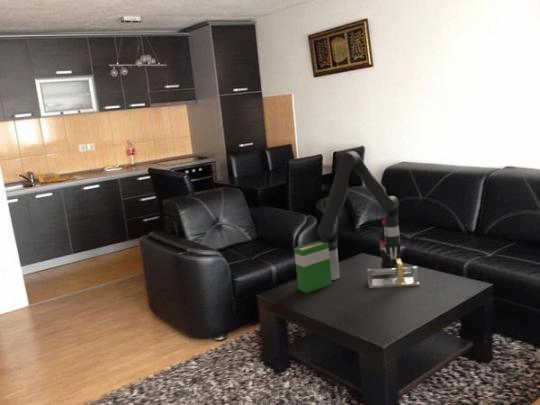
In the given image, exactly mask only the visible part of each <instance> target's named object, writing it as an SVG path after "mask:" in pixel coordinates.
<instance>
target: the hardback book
mask: <svg viewBox="0 0 540 405" xmlns="http://www.w3.org/2000/svg"><path fill="white" fill-rule="evenodd" d="M293 249H294V260H295V269H296V270H295V271H296V279H297V280H296V281H297V290H298V289H299V290H298V291H300V290H301V291H300V292H302V291H303V293H304V292H305V294H308V292H309V293H311V291H312V292H314V291H317V290H320V289H322V288H325V287H328V286H330V285H331V286H332V284H333V282H332V281H333V280H331V269H330V257H329V246H328V243H322V240H317V241H314V242H310V243H307V244H304V245H299V246H297V247H294V248H293Z"/></svg>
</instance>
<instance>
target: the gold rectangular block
mask: <svg viewBox="0 0 540 405" xmlns="http://www.w3.org/2000/svg"><path fill="white" fill-rule="evenodd" d="M396 262H397V264H396V268H398V274H396V278H398V281H399V283H404V278H405V277H404V273H403V267H404V264H403V262H402V259H401V258H397V259H396ZM403 277H404V278H403Z"/></svg>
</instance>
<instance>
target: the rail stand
mask: <svg viewBox="0 0 540 405" xmlns="http://www.w3.org/2000/svg"><path fill="white" fill-rule="evenodd" d="M366 271H367V284H368V288H369V289H376V288H377V289H378V288H379V289H381V288H397V287H414V286H415V287H416V286H420V282H419V275H418V274H419V273H418V271H419V270H418V266H417V265H413V266H410V267H409V266H408V267H407V266H405V267H404V266H403V274H412V276H408V277H407V276H406V277H404V276H403V278H404V283H399V281H398V278H397V277H391V278H390V277H389V278H373V277H372V276H378V275H380V276H381V275H397V274H398V268H388V269H382V268H372V269H371V268H367V270H366Z"/></svg>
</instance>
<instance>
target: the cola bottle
mask: <svg viewBox="0 0 540 405" xmlns="http://www.w3.org/2000/svg"><path fill="white" fill-rule="evenodd" d="M378 239H379V252H380V255H381V262H380V267H381V268H380V269H388V268H396V264H395V266H393V265H392V264H391V259H390V258H387V257H386V256H385V255H384V253H383V252H382V251H381V249H382V248H384V247H385V222H384V220H382V229H381V231H380V233H379V237H378ZM385 250H386V252H387V254H388V255H390V252H388V251H387V249H385ZM393 258H394V253H393Z"/></svg>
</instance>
